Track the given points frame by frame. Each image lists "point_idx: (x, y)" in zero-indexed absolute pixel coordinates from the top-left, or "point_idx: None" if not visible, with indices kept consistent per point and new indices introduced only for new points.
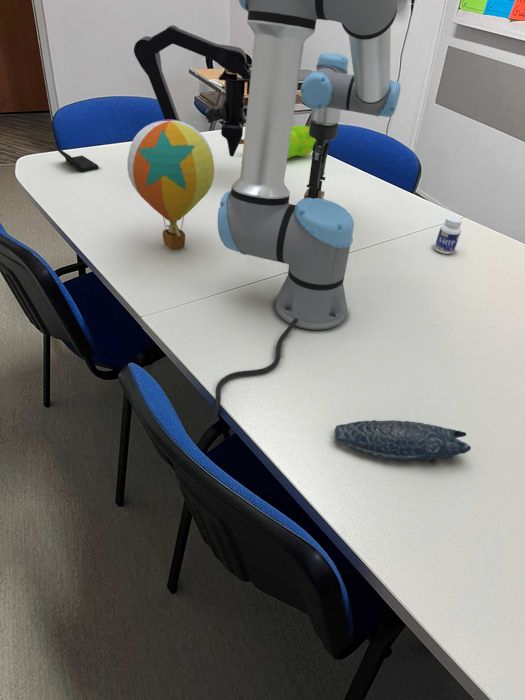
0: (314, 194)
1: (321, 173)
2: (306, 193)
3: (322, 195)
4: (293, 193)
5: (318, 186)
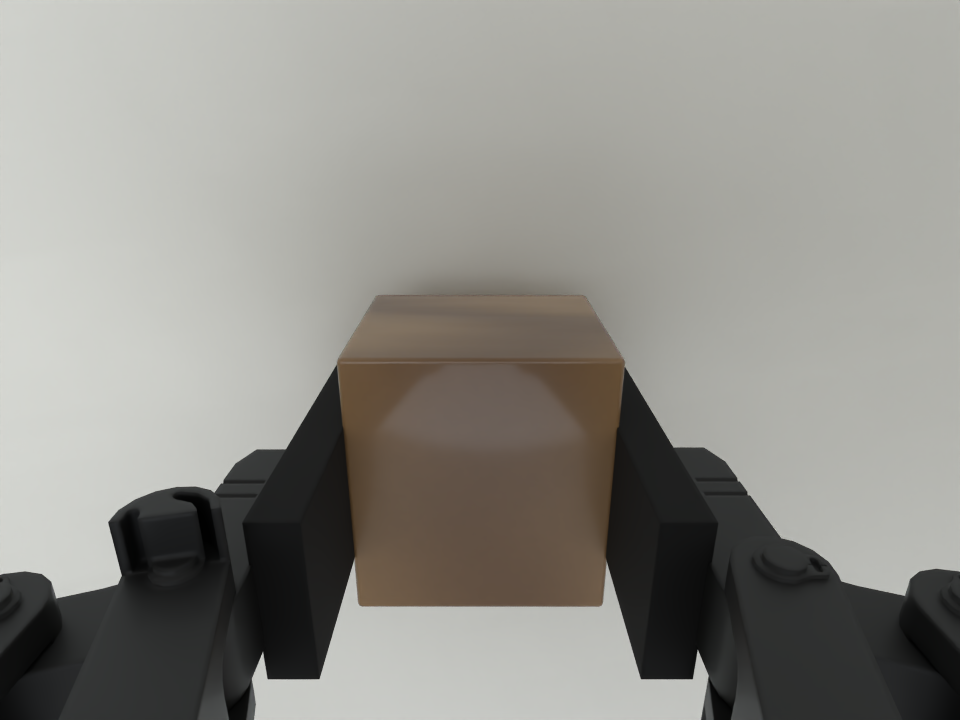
0: (749, 508)
1: (212, 702)
2: (549, 589)
3: (534, 367)
4: None
5: (802, 568)
